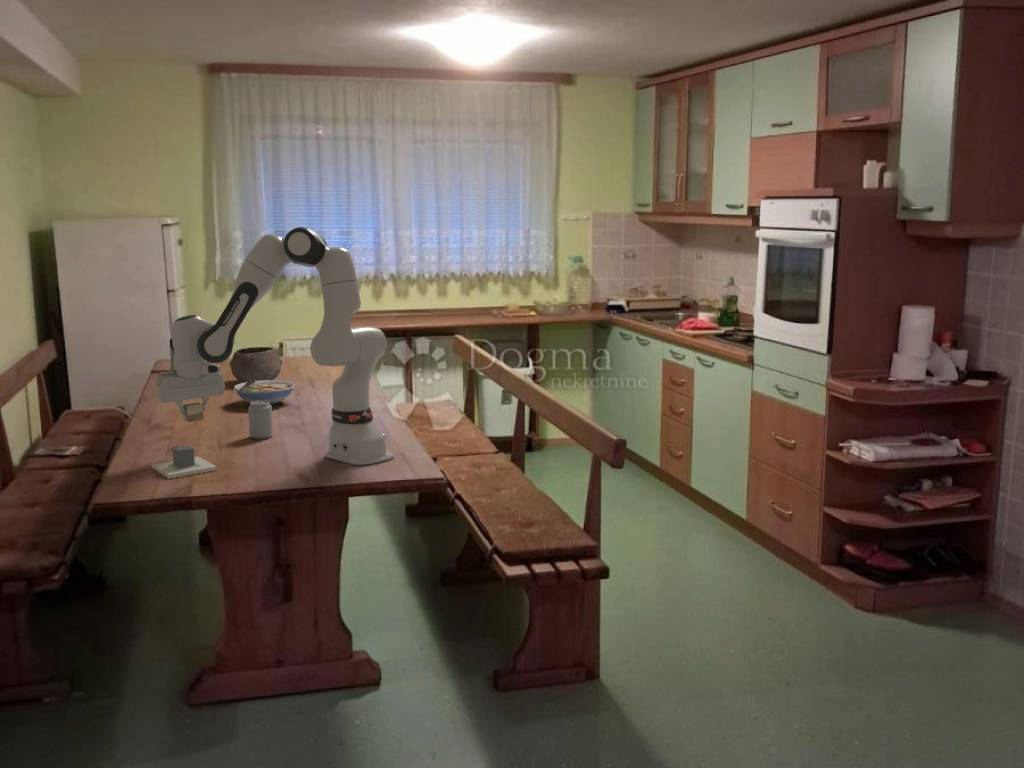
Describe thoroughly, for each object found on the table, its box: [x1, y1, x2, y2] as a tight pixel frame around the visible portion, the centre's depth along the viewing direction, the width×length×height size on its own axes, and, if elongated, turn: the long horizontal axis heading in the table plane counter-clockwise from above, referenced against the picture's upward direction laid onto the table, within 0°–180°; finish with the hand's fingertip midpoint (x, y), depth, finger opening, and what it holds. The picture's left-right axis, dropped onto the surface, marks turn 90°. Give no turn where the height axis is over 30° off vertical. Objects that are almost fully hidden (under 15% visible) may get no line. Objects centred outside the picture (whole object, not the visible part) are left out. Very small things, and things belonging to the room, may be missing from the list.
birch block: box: [181, 401, 205, 423], centre depth 293 cm, size 5×5×5 cm
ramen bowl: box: [233, 377, 295, 406], centre depth 366 cm, size 25×23×8 cm
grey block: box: [171, 444, 195, 468], centre depth 278 cm, size 5×5×5 cm
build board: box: [151, 455, 218, 480], centre depth 279 cm, size 14×14×1 cm
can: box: [247, 400, 274, 440], centre depth 315 cm, size 8×8×12 cm
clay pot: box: [229, 346, 284, 383], centre depth 406 cm, size 21×21×15 cm
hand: (193, 413), depth 293 cm, fingers closed on birch block, 5 cm apart
